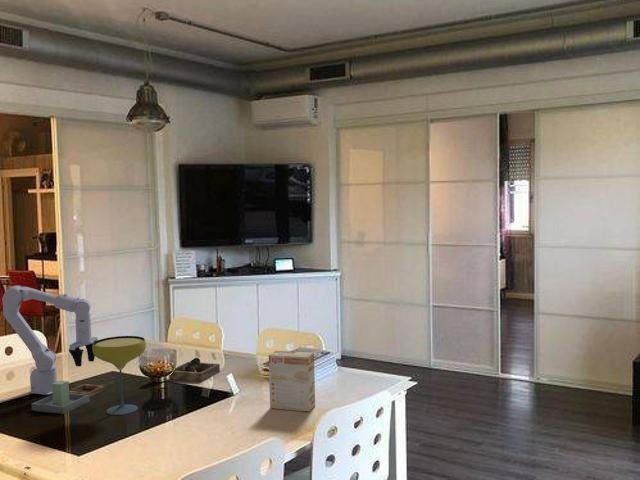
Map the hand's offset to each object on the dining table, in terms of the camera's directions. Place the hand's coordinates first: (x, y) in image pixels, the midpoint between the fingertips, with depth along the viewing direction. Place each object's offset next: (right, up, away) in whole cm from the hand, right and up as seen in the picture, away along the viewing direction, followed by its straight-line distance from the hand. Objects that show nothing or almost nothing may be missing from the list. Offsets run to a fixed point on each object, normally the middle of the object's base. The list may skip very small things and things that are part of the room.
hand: (84, 363), depth 253 cm
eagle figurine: (+39, -8, +18) cm, 44 cm away
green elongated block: (-1, -11, -21) cm, 24 cm away
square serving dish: (+41, -8, +15) cm, 45 cm away
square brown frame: (+2, -10, -5) cm, 12 cm away
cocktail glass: (+23, -12, -27) cm, 38 cm away
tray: (-1, -11, -21) cm, 24 cm away
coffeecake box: (+84, -10, -28) cm, 90 cm away
